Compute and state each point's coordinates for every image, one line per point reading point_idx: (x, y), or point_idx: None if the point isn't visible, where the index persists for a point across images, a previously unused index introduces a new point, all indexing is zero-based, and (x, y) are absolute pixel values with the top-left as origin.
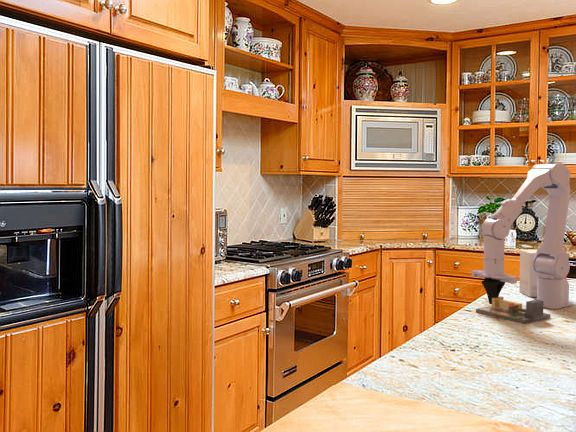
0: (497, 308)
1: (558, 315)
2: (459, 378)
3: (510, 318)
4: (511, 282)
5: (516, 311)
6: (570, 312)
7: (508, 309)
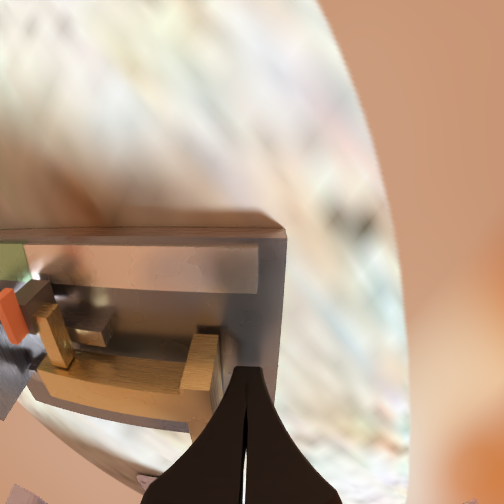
0: None
1: (70, 430)
2: None
3: (22, 234)
4: (19, 496)
5: None
6: (97, 466)
7: (50, 303)
